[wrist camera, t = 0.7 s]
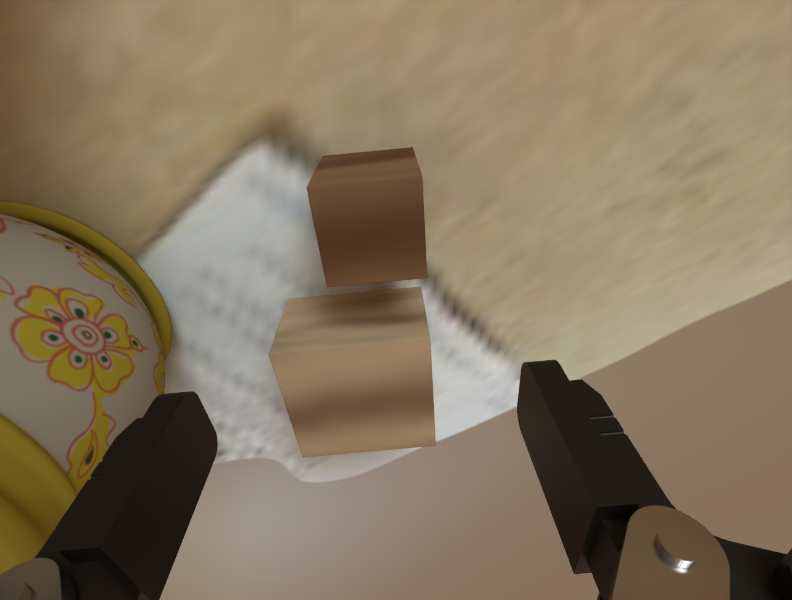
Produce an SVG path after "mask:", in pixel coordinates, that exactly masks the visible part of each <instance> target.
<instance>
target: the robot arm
mask: <svg viewBox="0 0 792 600" xmlns="http://www.w3.org/2000/svg"><path fill="white" fill-rule="evenodd" d="M517 413H518V421H519V426H520V430H521V433H522V436H523V438H524V441H525V444H526V446H527V449H528V452H529V454H530V457H531V459H532V462H533V465H534V468H535V470H536V473H537V475H538V478H539V481H540V484H541V486H542V489H543V492H544V494H545V497H546V500H547V503H548V505H549V508H550V511H551V513H552V516H553V519H554V521H555V524H556V527H557V529H558V532H559V535H560V538H561V540H562V543H563V546H564V548H565V551H566V553H567V556H568V559H569V562H570V564H571V567H572V570H573V572H574V574H581V573H592V575H593V577H594V580H595V582H596V584H597V587H598V589H599V595H598V598H597V600H792V549H791V550H790V551H789V552H788V554H783V553H779V552H774V551H770V550H766V549H761V548H757V547H753V546H748V545H744V544H739V543H735V542H731V541H728V540H724V539H721V538H719V537H716V536H713V535H712V534H711V533H710V532H709V531H708V530H707V529H706V528H705V527H704V526H703V525H701V524H700V523H699V522H698V521H696V520H695V519H693V518H692V517H690V516H689V515H686V514H685V513H683V512H681V511H678V510H676V508H675V507H674V506H673V505H672V504H671V503H670V501H669V500H668V499H667V497H666V495H665V494H664V493H663V491H662V489H661V488H660V486H659V485H658V483H657V482H656V480H655V478H654V477H653V475H652V474H651V472H650V471H649V469H648V467H647V466H646V464H645V463H644V461H643V460H642V458H641V457H640V455H639V453H638V452H637V450H636V449H635V447H634V446H633V444H632V442H631V441H630V439H629V438H628V436H627V435H625V434H624V432H623V428H622V427H621V425H620V424H619V422H618V421H617V419H616V418H614V416H613V413H612V411H611V410H610V408H609V407H608V405H607V403H606V402H605V400H604V399H603V397H602V396H601V395H600V394H599V393H598V392H597V391H595V390H594V389H593V388H591V387H590V386H589V385H588V384H587V383H585V382H584V381H583V380H572V381H569V379H568V378H567V376H566V374H565V372H564V371H563V369H562V367H561V365H560V364H559V363H558V361H556V360H546V361H535V362H525V363H523V365H522V368H521V376H520V385H519V394H518V403H517ZM216 453H217V435H216V431H215V429H214V427H213V425H212V423H211V421H210V419H209V417H208V415H207V413H206V411H205V409H204V407H203V405H202V403H201V401H200V399H199V397H198V395H197V394H196V393H195V392H192V391H190V392H179V393H168V394H160V395H158V396H157V397H156V398H155V399H154V400H153V402H152V404H151V405H150V407H149V408H148V410H147V411H146V413H145V415H144V416H143V418H137V419H135V420H134V421H133V422H132V423H131V424H130V425H129V426H128V427H127V428H125V429H124V430H123V431H122V432H121V433H120V434H119V435H118V436H117V437H116V438H115V440H114V441H113V443H112V444H111V445H110V447H109V448H108V450H107V451H106V453H105V454H104V456H103V457H102V458H103V460H102V462H99V463H98V465H97V466H96V468H95V469H94V471H93V472H92V474H91V475H90V476H91V479H90V480H87V481H86V483H85V484H84V486H83V487H82V489H81V490H80V492H79V493H78V495H77V496H76V498H75V499H74V501H73V502H72V504H71V505H70V507H69V508H68V510H67V511H66V513H65V514H64V516H63V517H62V519H61V520H60V522H59V523H58V525H57V526H56V528H55V529H54V531H53V532H52V534H51V535H50V537H49V538H48V540H47V541H46V543H45V544H44V546H43V547H42V549H41V550H40V551H39V553H38V554H37V555H36V557H35V558H34V559H31V560H27V561H25V562H22V563H20V564H18V565H16V566H14V567H12V568H10V569H9V570H7V571H6V572H4V573H2V574H1V575H0V600H159V599H160V596H161V594H162V591H163V588H164V586H165V584H166V581H167V579H168V576H169V573H170V571H171V568H172V566H173V563H174V561H175V558H176V556H177V553H178V551H179V548H180V545H181V543H182V540H183V538H184V535H185V533H186V530H187V528H188V525H189V523H190V520H191V518H192V515H193V513H194V510H195V508H196V505H197V503H198V500H199V497H200V495H201V492H202V490H203V487H204V485H205V482H206V479H207V477H208V475H209V472H210V470H211V467H212V465H213V462H214V459H215V457H216Z"/></svg>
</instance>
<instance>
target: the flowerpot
mask: <svg viewBox="0 0 792 600" xmlns="http://www.w3.org/2000/svg"><path fill="white" fill-rule="evenodd" d="M171 339H172V330H171V322H170V317H169V313H168V311H167V308H166V305H165V303H164V301H163V299H162V297H161V295H160V293H159V291H158V290H157V288H156V286H155V285H154V283H153V282H152V281H151V279H150V278H149V277H148V275H147V274H146V273H145V271H144V270H143V269H142V268H141V267H140V266H139V264H138V263H137V262H136V261H135V260H134V259H133V258H132V257H131V256H129V255H128V254H127V253H126V252H125V251H124V250H123V249H121V248H120V247H119V246H117V245H116V244H115V243H113V242H112V241H111V240H109V239H107V238H106V237H104V236H103V235H101V234H99V233H98V232H96V231H94V230H92V229H91V228H89V227H87V226H85V225H83V224H81V223H79V222H77V221H75V220H73V219H71V218H68V217H66V216H63V215H61V214H58V213H56V212H52V211H49V210H46V209H43V208H39V207H35V206H31V205H26V204H21V203H14V202H3V201H0V575H1V574H2V573H4V572H6V571H7V570H9V569H10V568H12V567H14V566H16V565H18V564H20V563H22V562H25V561H27V560H31V559H34V558H35V557H36V555H37V554H38V553H39V551H40V550H41V549H42V547H43V546H44V544H45V543H46V541H47V540H48V538H49V537H50V535H51V534H52V532H53V531H54V529H55V528H56V526H57V525H58V523H59V522H60V520H61V519H62V517H63V516H64V514H65V513H66V511H67V510H68V508H69V507H70V505H71V504H72V502H73V501H74V499H75V498H76V496H77V495H78V493H79V492H80V490H81V489H82V487H83V486H84V484H85V483H86V481H87V480H90V479H91V476H90V475H91V474H92V472H93V471H94V469H95V468H96V466H97V465H98V463H99V462H102V460H103V458H102V457H103V456H104V454H105V453H106V451H107V450H108V448H109V447H110V445H111V444H112V443H113V441H114V440H115V438H116V437H117V436H118V435H119V434H120V433H121V432H122V431H123V430H124V429H125V428H127V427H128V426H129V425H130V424H131V423H132V422H133V421H134V420H135V419H137V418H143V416H144V415H145V413H146V411H147V410H148V408H149V407H150V405H151V404H152V402H153V400H154V399H155V398H156V397H157V396H158V395H160V394H163V393H164V386H165V362H164V361H165V360H166V358H167V355H168V353H169V350H170V346H171Z"/></svg>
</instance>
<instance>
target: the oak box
mask: <svg viewBox="0 0 792 600" xmlns="http://www.w3.org/2000/svg"><path fill="white" fill-rule="evenodd" d="M269 357H270V360H271V363H272V366H273V369H274V372H275V375H276V378H277V381H278V384H279V387H280V390H281V393H282V396H283V399H284V402H285V405H286V408H287V411H288V414H289V417H290V420H291V423H292V426H293V429H294V432H295V435H296V439H297V442H298V445H299V448H300V451H301V454H302V457H311V456H323V455H334V454H345V453H357V452H368V451H379V450H391V449H402V448H413V447H425V446H435V445H436V441H435V421H434V401H433V381H432V361H431V341H430V334H429V329H428V323H427V318H426V312H425V307H424V301H423V296H422V290H421V287H413V288H402V289H391V290H381V291H370V292H359V293H348V294H337V295H326V296H316V297H305V298H294V299H288V302H287V305H286V308H285V310H284V313H283V316H282V319H281V322H280V324H279V327H278V330H277V333H276V336H275V338H274V341H273V344H272V347H271V350H270V352H269Z"/></svg>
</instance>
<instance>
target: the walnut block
mask: <svg viewBox="0 0 792 600" xmlns="http://www.w3.org/2000/svg"><path fill="white" fill-rule="evenodd" d="M307 192H308V197H309V202H310V206H311V211H312V216H313V221H314V226H315V231H316V236H317V241H318V245H319V250H320V255H321V260H322V265H323V270H324V275H325V280H326V284H327V287H334V286H345V285H356V284H367V283H378V282H389V281H400V280H411V279H421V278H427V262H426V242H425V222H424V202H423V182H422V174H421V171H420V168H419V165H418V162H417V159H416V156H415V153H414V150H413V147H411V148H401V149H391V150H381V151H370V152H360V153H350V154H339V155H329V156H323V157H322V159H321V161H320V163H319V165H318V167H317V169H316V170H315V172H314V174H313V176H312V178H311V180H310V182H309V184H308V186H307Z"/></svg>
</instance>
